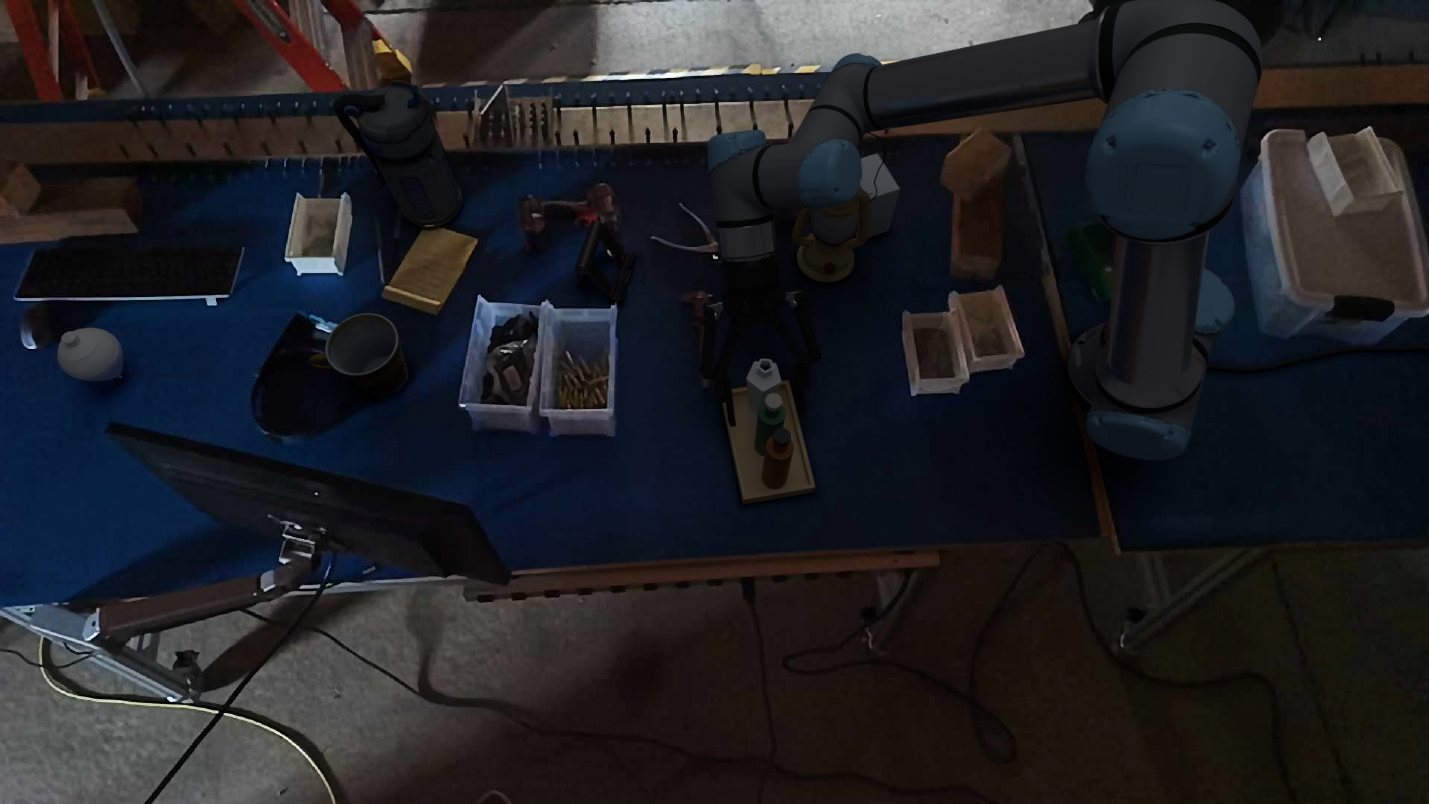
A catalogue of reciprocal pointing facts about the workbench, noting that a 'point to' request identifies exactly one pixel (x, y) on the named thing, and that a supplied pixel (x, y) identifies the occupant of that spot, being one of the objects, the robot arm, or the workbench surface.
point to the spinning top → (90, 355)
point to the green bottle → (768, 421)
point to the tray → (752, 462)
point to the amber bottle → (777, 459)
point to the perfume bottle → (761, 385)
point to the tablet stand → (589, 268)
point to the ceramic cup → (366, 354)
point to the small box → (878, 194)
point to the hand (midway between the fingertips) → (766, 417)
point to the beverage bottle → (404, 150)
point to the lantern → (833, 236)
